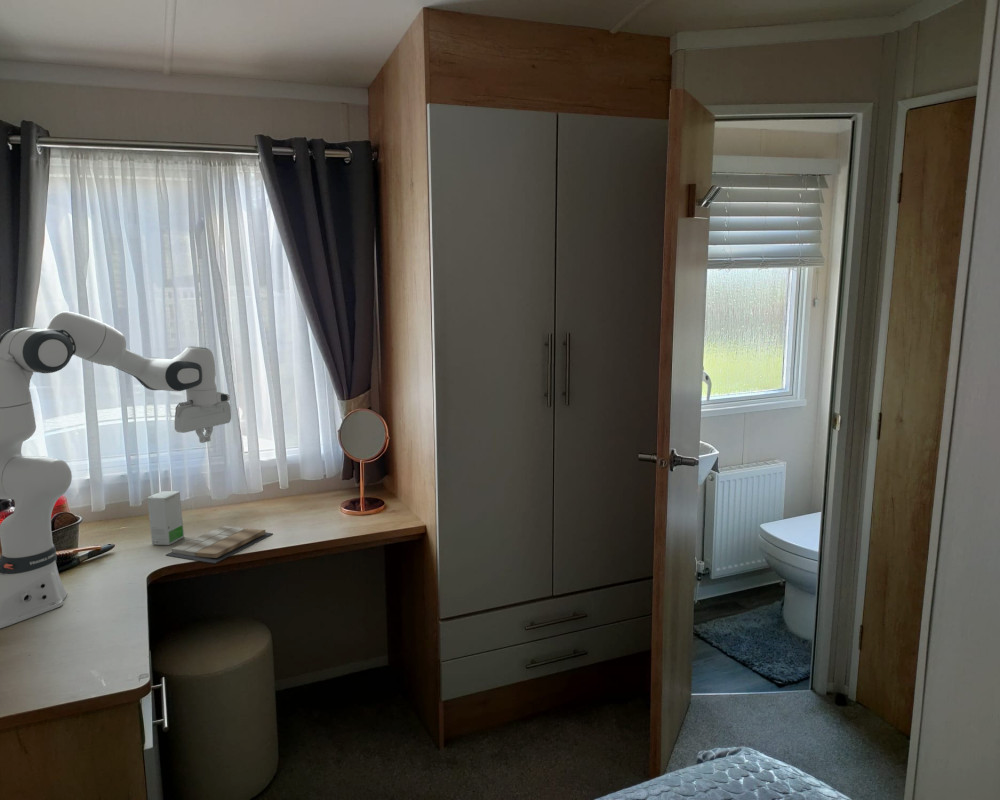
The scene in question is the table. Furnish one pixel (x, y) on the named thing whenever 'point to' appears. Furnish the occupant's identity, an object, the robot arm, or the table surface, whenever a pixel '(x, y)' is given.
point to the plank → (230, 543)
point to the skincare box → (165, 517)
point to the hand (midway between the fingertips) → (205, 442)
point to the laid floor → (205, 540)
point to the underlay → (215, 560)
